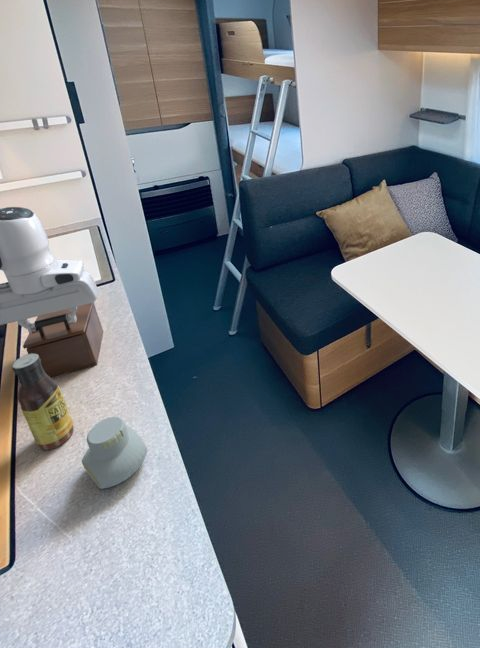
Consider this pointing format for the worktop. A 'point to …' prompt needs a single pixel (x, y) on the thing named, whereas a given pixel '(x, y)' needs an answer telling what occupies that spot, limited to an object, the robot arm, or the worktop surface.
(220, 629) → the worktop surface
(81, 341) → the bin
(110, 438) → the air freshener
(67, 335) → the bin lid
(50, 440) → the sauce bottle
